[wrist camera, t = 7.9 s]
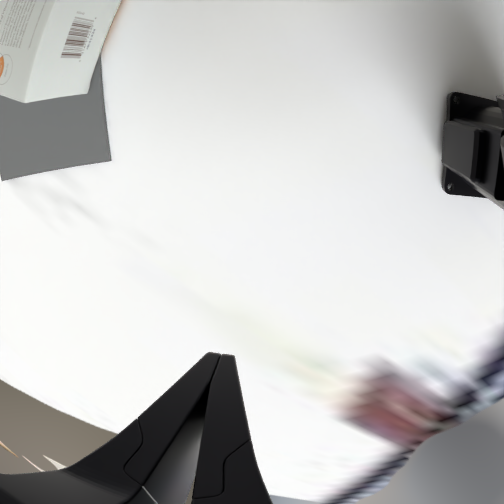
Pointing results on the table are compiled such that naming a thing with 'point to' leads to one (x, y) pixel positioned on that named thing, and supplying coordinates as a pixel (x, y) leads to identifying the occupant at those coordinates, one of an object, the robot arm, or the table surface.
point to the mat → (53, 132)
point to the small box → (51, 46)
